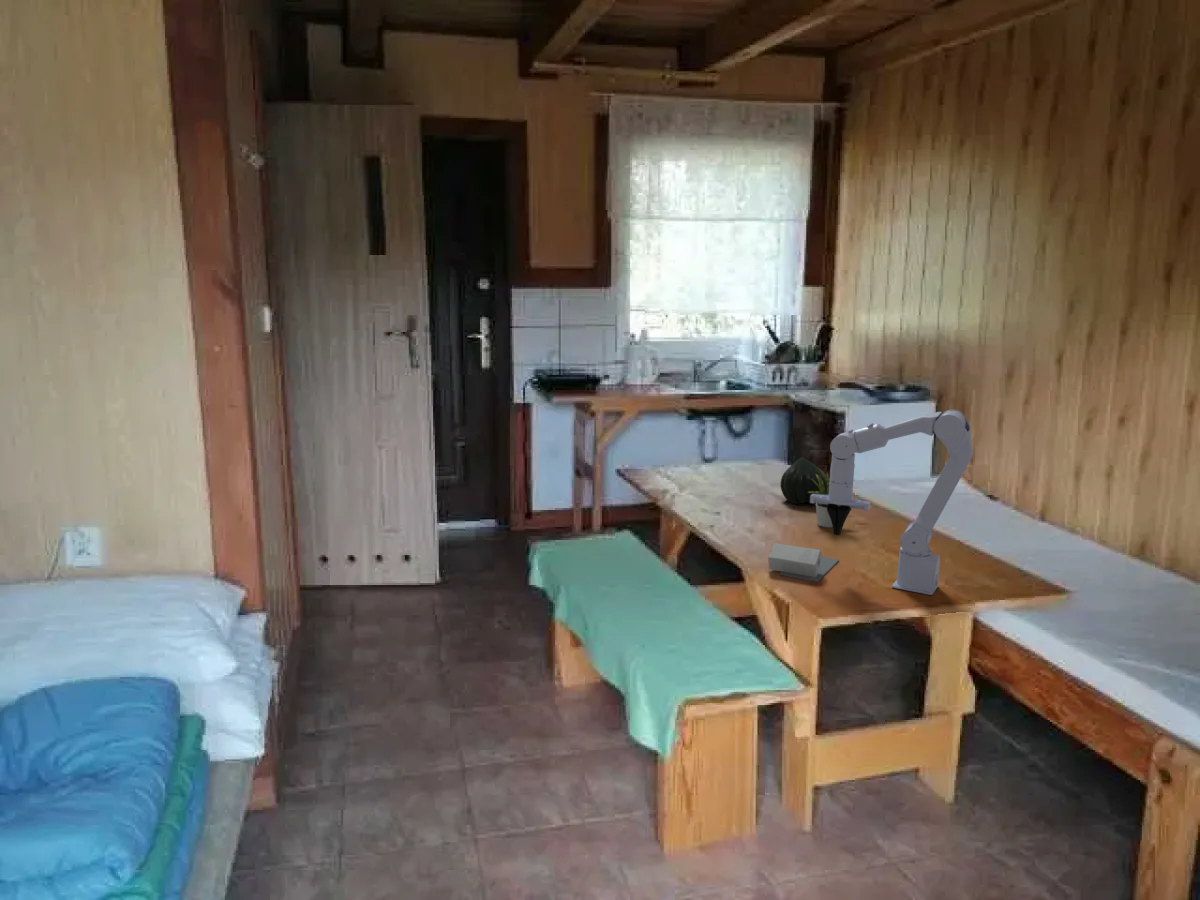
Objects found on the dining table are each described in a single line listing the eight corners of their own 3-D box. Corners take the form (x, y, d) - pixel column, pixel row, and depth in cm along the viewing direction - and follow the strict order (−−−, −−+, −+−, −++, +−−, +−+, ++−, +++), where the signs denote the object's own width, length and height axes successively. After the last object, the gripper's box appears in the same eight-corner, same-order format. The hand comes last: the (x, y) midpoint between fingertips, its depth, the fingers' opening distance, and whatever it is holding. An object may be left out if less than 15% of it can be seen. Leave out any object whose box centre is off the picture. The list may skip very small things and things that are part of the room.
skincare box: (822, 562, 235) (775, 555, 241) (821, 549, 233) (774, 541, 238) (816, 578, 231) (768, 570, 236) (815, 564, 228) (767, 557, 234)
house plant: (853, 535, 269) (858, 480, 265) (804, 531, 271) (809, 476, 268) (850, 521, 282) (855, 469, 279) (804, 517, 285) (808, 465, 282)
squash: (824, 495, 291) (828, 454, 298) (776, 492, 296) (781, 451, 303) (826, 515, 303) (830, 475, 310) (780, 512, 307) (785, 473, 314)
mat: (839, 560, 245) (839, 559, 245) (817, 582, 229) (817, 580, 228) (803, 554, 250) (803, 553, 250) (780, 575, 233) (780, 573, 233)
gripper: (874, 482, 231) (870, 534, 233) (816, 474, 237) (813, 525, 240) (868, 488, 225) (863, 541, 227) (809, 480, 231) (805, 532, 234)
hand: (837, 534), depth 233 cm, fingers closed
